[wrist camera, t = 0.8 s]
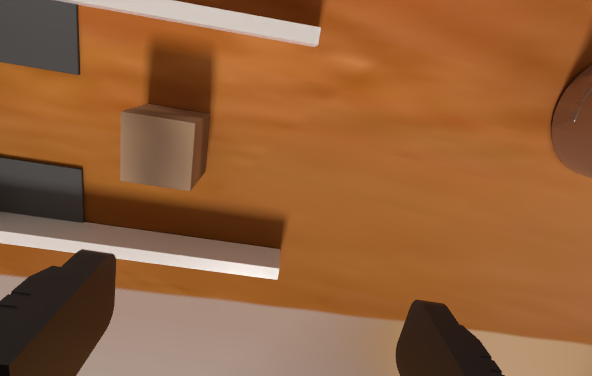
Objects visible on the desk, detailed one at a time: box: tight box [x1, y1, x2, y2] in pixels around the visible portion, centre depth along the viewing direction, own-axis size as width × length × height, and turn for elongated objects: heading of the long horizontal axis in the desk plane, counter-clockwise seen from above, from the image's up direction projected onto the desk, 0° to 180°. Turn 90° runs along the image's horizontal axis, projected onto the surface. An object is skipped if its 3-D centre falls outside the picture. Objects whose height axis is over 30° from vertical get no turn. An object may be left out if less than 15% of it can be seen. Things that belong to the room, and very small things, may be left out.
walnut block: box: [120, 104, 210, 191], centre depth 25 cm, size 4×4×4 cm
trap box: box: [0, 0, 321, 280], centre depth 25 cm, size 24×18×3 cm
